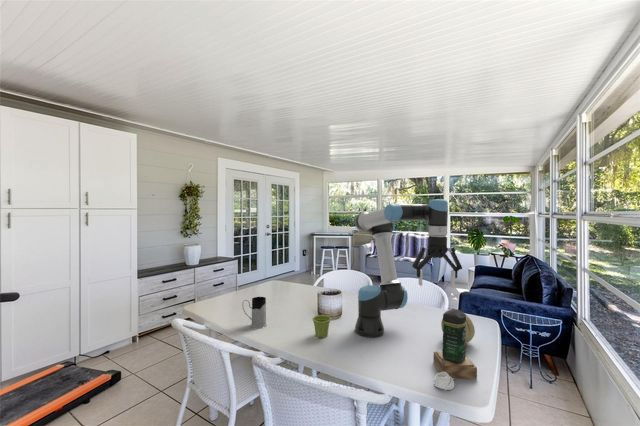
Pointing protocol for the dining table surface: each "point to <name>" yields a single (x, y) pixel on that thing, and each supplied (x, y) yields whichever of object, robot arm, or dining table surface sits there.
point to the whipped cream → (443, 381)
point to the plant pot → (321, 325)
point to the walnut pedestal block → (455, 367)
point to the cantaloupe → (467, 329)
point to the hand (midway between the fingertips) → (436, 285)
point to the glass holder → (258, 312)
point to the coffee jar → (454, 335)
